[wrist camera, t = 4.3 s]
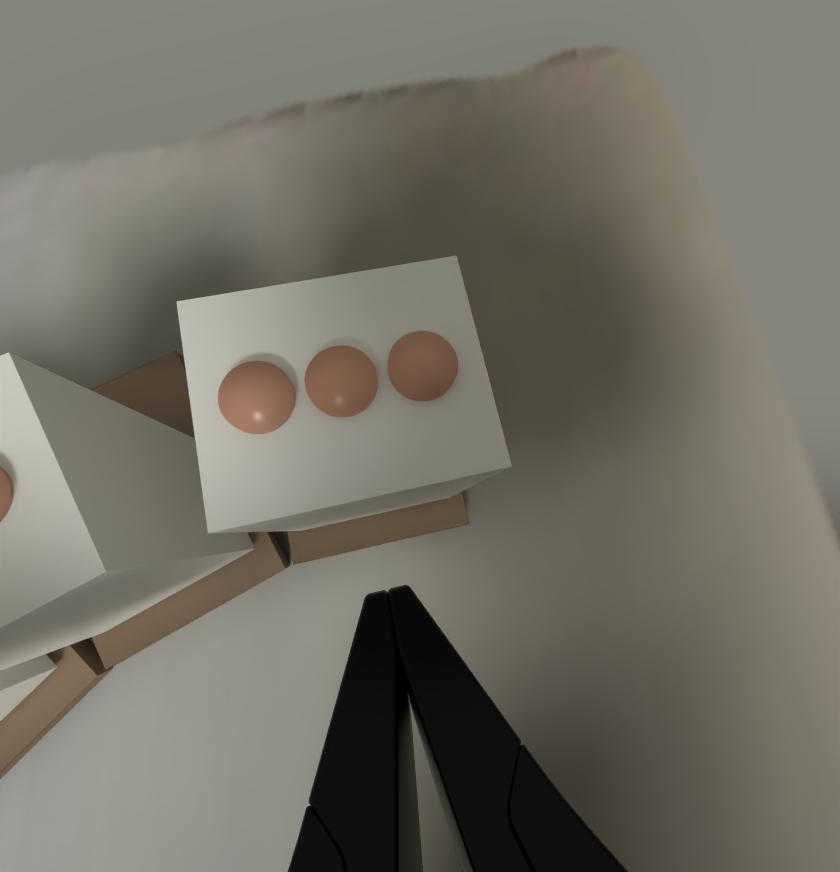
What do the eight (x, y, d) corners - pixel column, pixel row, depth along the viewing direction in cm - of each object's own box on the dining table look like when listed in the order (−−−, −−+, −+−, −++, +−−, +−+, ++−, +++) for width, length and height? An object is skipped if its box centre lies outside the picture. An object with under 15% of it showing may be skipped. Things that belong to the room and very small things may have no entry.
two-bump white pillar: (255, 548, 15) (97, 572, 7) (104, 632, 14) (-278, 772, 6) (202, 441, 15) (-2, 347, 7) (54, 517, 15) (-357, 502, 7)
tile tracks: (436, 306, 18) (438, 296, 17) (494, 740, 15) (500, 751, 14) (-186, 353, 16) (-216, 344, 15) (-259, 863, 13) (-300, 885, 12)
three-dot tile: (449, 497, 16) (515, 465, 7) (301, 530, 15) (203, 533, 7) (423, 387, 16) (458, 249, 8) (281, 414, 16) (170, 295, 8)
